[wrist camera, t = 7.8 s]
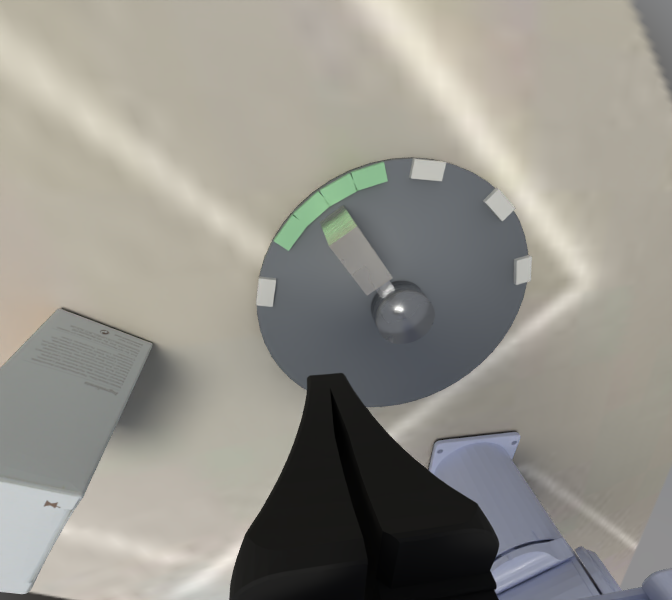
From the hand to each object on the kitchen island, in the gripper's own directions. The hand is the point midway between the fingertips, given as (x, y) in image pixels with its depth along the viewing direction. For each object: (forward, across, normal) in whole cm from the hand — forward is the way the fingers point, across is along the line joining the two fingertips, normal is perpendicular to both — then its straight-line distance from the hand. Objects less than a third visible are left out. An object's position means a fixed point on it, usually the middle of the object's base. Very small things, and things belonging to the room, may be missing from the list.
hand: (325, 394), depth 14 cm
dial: (+10, -6, +2) cm, 12 cm away
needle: (+10, -4, 0) cm, 11 cm away
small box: (+11, +14, +6) cm, 19 cm away
